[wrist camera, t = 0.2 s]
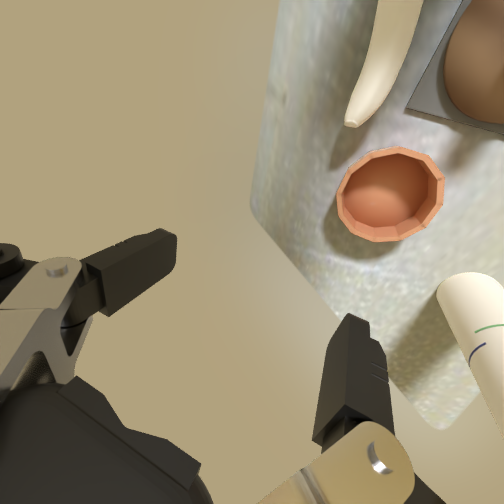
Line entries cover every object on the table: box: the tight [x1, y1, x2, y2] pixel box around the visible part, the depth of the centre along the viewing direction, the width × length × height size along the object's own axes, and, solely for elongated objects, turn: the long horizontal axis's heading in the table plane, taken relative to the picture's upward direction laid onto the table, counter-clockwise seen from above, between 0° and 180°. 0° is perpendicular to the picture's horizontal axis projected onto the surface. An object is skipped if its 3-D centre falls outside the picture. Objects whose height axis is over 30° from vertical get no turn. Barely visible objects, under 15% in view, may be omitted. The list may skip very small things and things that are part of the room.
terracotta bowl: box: [336, 146, 445, 242], centre depth 30 cm, size 11×11×5 cm
